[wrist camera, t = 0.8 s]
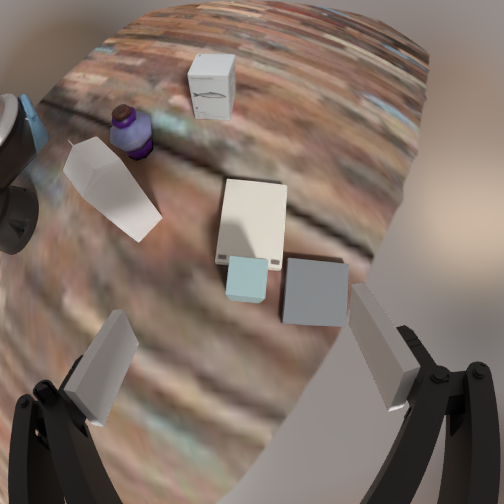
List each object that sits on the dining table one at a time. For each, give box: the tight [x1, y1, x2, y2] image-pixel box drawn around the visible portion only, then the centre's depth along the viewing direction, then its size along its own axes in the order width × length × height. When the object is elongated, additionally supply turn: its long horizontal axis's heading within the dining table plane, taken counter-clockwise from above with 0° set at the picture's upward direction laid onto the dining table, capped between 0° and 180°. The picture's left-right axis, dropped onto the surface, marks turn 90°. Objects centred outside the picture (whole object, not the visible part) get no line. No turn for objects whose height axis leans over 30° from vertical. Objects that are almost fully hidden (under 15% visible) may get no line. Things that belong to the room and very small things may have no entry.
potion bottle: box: [109, 104, 153, 161], centre depth 41 cm, size 9×9×12 cm
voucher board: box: [215, 179, 287, 271], centre depth 43 cm, size 14×10×2 cm
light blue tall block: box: [226, 256, 268, 303], centre depth 36 cm, size 5×4×11 cm
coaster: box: [281, 258, 349, 327], centre depth 41 cm, size 10×10×2 cm
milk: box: [63, 137, 162, 243], centre depth 33 cm, size 6×6×22 cm
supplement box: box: [188, 54, 236, 121], centre depth 44 cm, size 7×7×13 cm
